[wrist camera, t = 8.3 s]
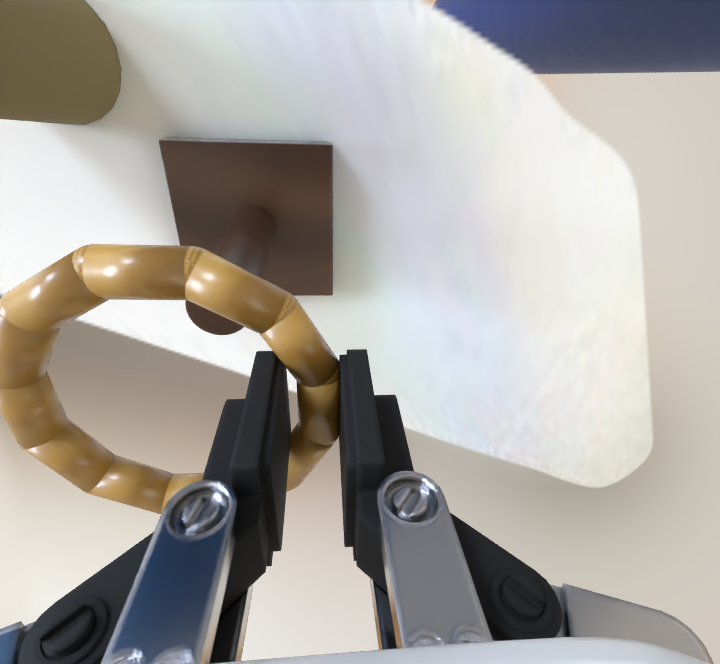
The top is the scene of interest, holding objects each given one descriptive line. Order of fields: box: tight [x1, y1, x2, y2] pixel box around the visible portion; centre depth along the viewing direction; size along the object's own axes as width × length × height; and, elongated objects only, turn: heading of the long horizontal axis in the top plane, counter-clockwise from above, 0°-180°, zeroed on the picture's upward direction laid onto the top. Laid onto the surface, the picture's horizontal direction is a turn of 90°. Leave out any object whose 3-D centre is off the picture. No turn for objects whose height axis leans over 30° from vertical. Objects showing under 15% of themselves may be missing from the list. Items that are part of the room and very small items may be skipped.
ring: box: [0, 244, 340, 514], centre depth 11 cm, size 9×9×1 cm
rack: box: [159, 138, 333, 335], centre depth 20 cm, size 9×9×11 cm
